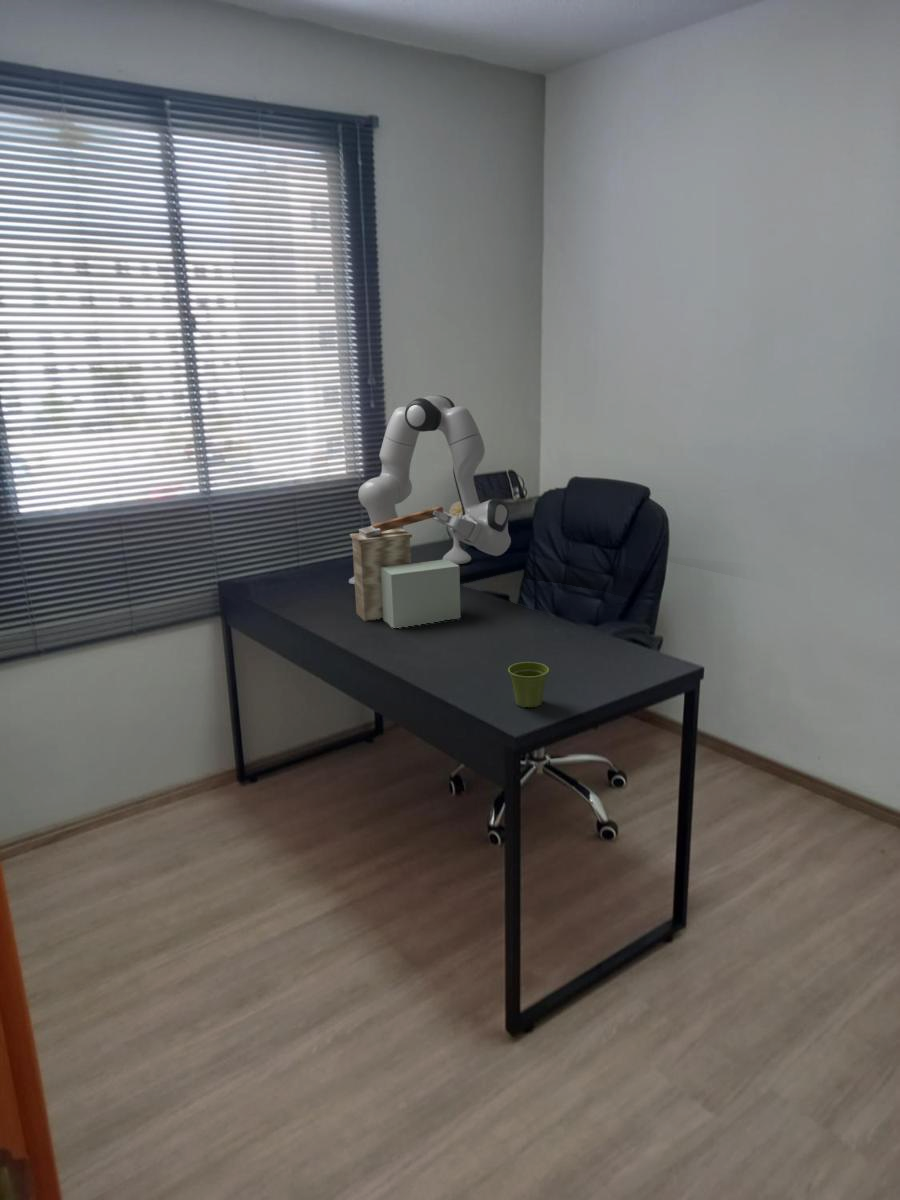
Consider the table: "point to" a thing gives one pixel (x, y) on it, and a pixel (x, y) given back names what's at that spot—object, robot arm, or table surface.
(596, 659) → the table surface
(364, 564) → the tall stand
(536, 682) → the plant pot
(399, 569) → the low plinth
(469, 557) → the flower in vase
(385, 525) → the scraper
